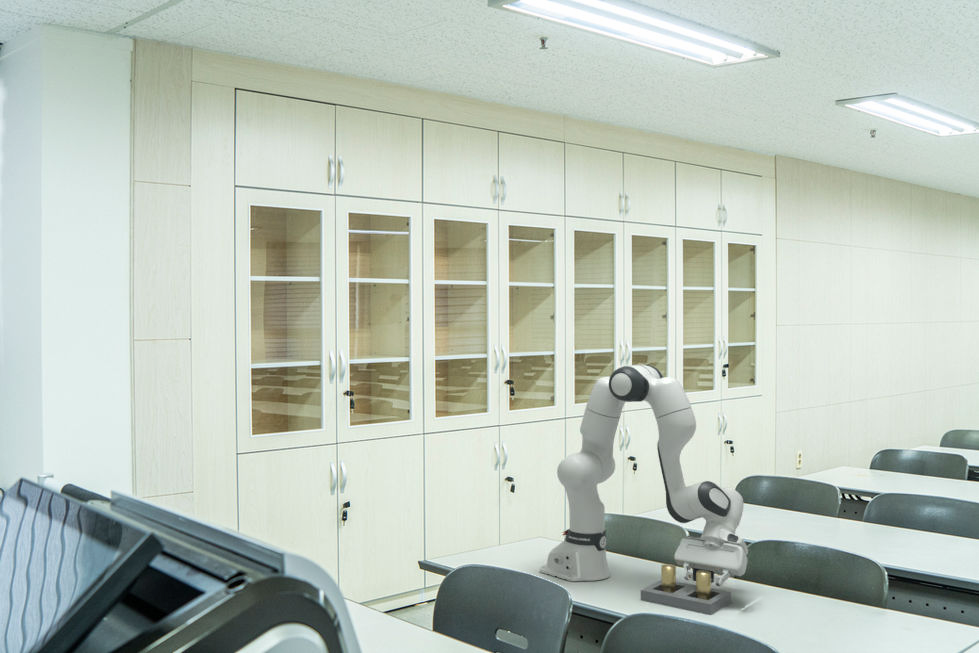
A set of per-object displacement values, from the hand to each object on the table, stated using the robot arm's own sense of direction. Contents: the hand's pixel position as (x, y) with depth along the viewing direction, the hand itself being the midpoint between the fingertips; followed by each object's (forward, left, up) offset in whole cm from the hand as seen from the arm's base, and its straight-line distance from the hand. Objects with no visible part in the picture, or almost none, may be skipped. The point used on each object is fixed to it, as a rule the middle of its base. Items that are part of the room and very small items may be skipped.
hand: (702, 582), depth 239 cm
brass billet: (0, +1, -6) cm, 6 cm away
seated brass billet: (-11, +1, -6) cm, 12 cm away
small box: (-13, +29, -7) cm, 32 cm away
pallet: (-5, +1, -7) cm, 9 cm away
